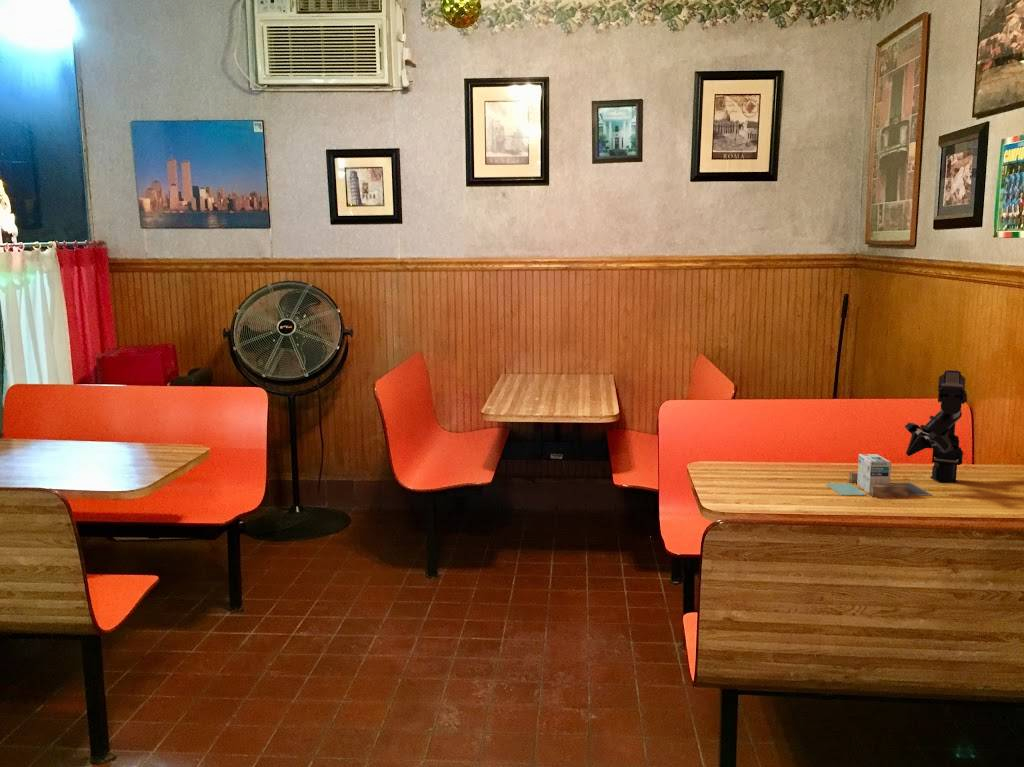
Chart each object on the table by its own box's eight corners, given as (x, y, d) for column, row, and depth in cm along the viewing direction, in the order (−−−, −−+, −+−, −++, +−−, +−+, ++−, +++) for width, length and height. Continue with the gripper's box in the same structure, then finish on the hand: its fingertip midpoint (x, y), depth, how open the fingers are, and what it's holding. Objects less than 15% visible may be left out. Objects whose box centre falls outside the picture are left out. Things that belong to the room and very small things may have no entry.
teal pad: (849, 484, 281) (849, 483, 281) (866, 495, 268) (866, 494, 268) (825, 484, 281) (825, 483, 281) (841, 495, 268) (841, 494, 268)
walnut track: (881, 481, 284) (882, 471, 283) (907, 497, 266) (908, 486, 266) (848, 482, 283) (849, 472, 283) (872, 497, 266) (873, 486, 265)
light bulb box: (890, 494, 269) (892, 461, 268) (868, 494, 270) (870, 461, 268) (876, 485, 280) (878, 453, 278) (855, 485, 280) (857, 453, 278)
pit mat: (910, 483, 282) (910, 482, 282) (932, 495, 268) (932, 494, 268) (886, 483, 282) (887, 482, 282) (907, 495, 268) (907, 494, 268)
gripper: (976, 444, 263) (938, 479, 265) (943, 431, 282) (909, 464, 283) (953, 420, 262) (915, 455, 263) (922, 408, 280) (887, 441, 282)
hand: (907, 454), depth 273 cm, fingers closed
